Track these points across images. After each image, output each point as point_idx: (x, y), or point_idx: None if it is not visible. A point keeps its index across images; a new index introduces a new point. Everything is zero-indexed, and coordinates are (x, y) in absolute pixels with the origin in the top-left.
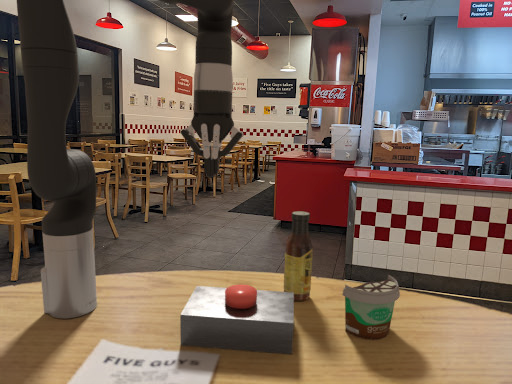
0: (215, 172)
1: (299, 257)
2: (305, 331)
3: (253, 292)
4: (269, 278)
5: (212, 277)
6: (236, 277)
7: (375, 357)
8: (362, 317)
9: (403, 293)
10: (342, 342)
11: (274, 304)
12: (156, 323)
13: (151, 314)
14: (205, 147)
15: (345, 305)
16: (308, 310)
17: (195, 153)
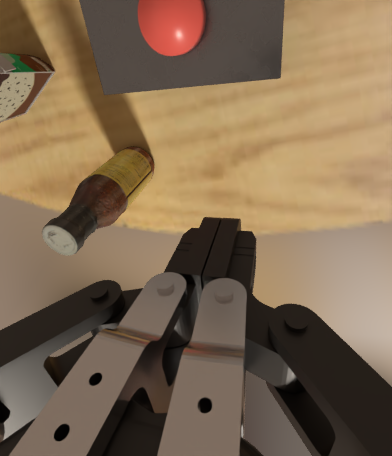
0: (195, 234)
1: (96, 174)
2: None
3: (144, 18)
4: (186, 215)
5: (276, 209)
6: (236, 213)
7: (5, 5)
8: (7, 54)
9: (24, 193)
10: (50, 36)
11: (118, 31)
12: (354, 4)
13: (371, 40)
14: (222, 348)
15: (26, 71)
16: (113, 123)
17: (316, 316)
